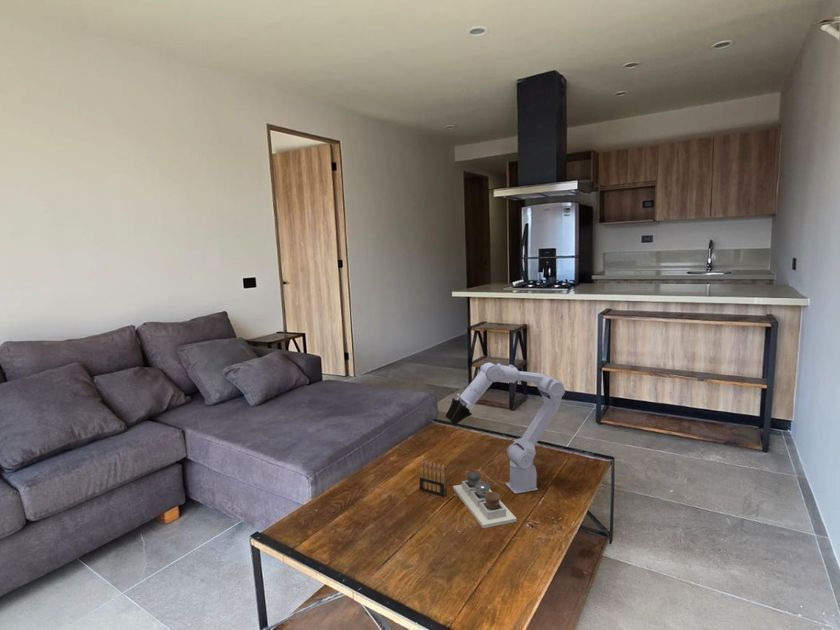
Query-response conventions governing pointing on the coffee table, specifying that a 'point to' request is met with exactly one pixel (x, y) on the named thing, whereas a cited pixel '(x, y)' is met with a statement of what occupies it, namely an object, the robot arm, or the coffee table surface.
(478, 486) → the knob steel
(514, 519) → the mount board
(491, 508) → the knob walnut
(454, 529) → the coffee table surface
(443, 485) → the ammunition clip
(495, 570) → the coffee table surface
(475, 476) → the knob graphite
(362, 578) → the coffee table surface
